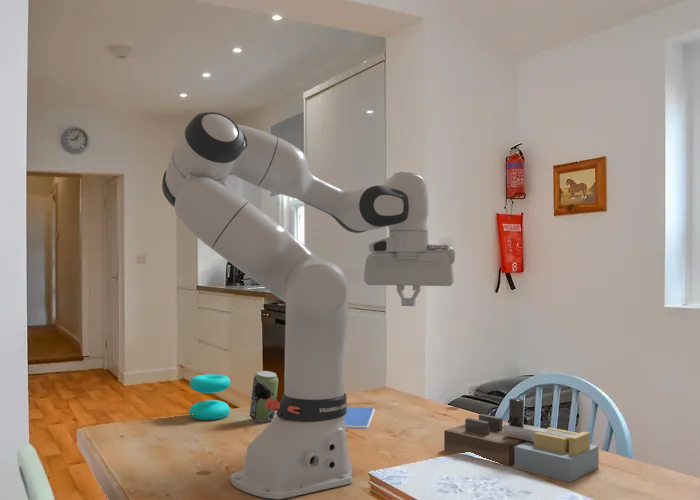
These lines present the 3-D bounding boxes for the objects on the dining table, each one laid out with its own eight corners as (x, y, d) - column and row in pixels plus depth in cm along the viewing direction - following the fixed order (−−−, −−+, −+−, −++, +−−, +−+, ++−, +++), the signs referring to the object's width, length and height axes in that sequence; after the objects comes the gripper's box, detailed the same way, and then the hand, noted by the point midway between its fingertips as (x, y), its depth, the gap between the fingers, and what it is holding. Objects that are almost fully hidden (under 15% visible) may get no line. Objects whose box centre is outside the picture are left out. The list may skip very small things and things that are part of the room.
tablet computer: (368, 431, 146) (368, 425, 146) (315, 429, 147) (315, 423, 148) (375, 412, 165) (375, 407, 165) (328, 411, 167) (328, 406, 167)
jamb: (508, 466, 119) (508, 432, 119) (444, 449, 129) (444, 418, 130) (539, 453, 127) (539, 421, 128) (476, 439, 138) (476, 409, 138)
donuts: (234, 378, 154) (192, 381, 151) (233, 419, 154) (192, 422, 150) (226, 372, 164) (187, 374, 160) (225, 410, 163) (186, 413, 160)
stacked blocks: (570, 482, 110) (570, 442, 110) (514, 467, 118) (514, 430, 118) (598, 467, 119) (598, 430, 119) (544, 454, 127) (544, 420, 127)
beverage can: (261, 416, 157) (262, 368, 158) (283, 420, 153) (284, 371, 153) (243, 421, 152) (244, 371, 153) (265, 425, 148) (266, 375, 148)
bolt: (570, 450, 115) (570, 410, 115) (503, 435, 125) (503, 399, 125) (578, 447, 117) (577, 408, 117) (511, 432, 127) (511, 397, 127)
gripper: (456, 245, 141) (456, 306, 141) (369, 245, 148) (369, 304, 147) (452, 244, 135) (452, 307, 135) (362, 244, 141) (361, 305, 141)
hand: (408, 306), depth 141 cm, fingers closed
